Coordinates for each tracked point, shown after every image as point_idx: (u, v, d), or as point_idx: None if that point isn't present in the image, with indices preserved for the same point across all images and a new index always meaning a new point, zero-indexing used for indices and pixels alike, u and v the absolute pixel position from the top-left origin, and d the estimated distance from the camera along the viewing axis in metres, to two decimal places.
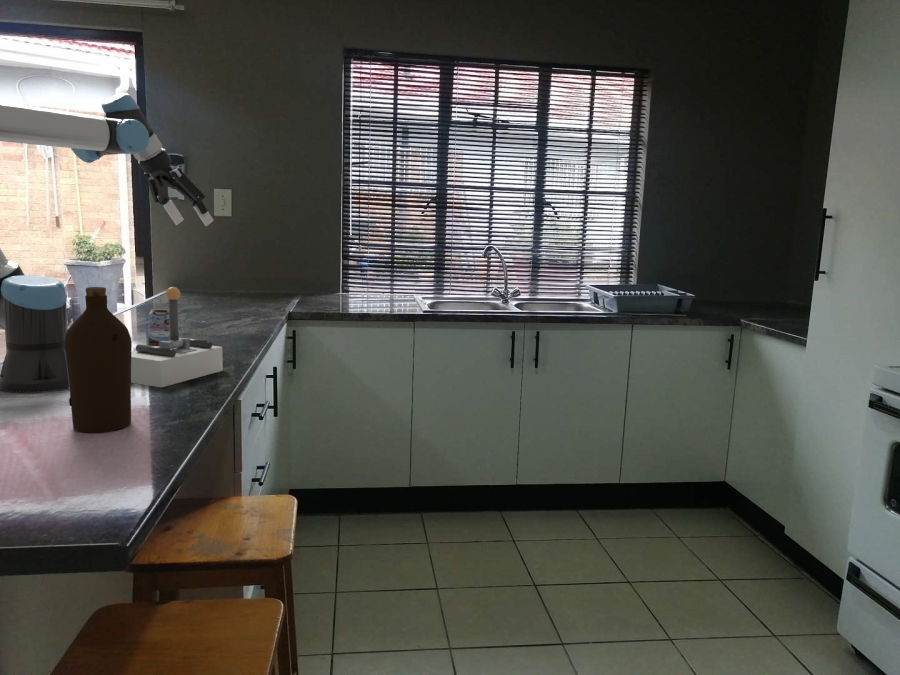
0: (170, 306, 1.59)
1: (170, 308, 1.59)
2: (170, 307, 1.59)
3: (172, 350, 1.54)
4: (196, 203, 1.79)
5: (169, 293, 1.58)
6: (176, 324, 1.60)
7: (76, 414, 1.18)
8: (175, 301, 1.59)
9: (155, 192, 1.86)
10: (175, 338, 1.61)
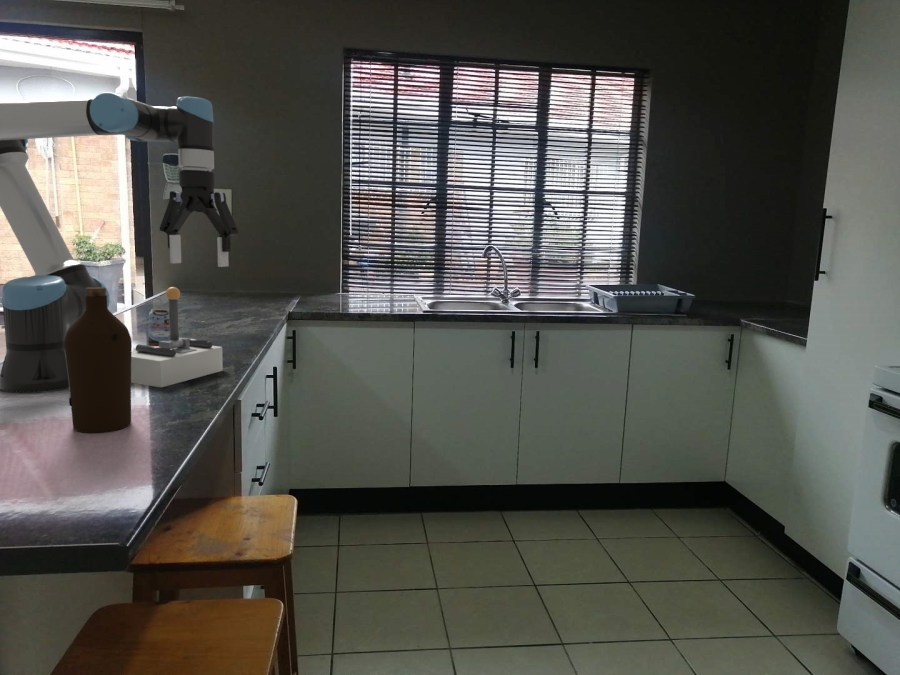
0: (170, 306, 1.59)
1: (170, 308, 1.59)
2: (170, 307, 1.59)
3: (172, 350, 1.54)
4: (224, 235, 1.51)
5: (169, 293, 1.58)
6: (176, 324, 1.60)
7: (76, 414, 1.18)
8: (175, 301, 1.59)
9: (169, 218, 1.56)
10: (175, 338, 1.61)
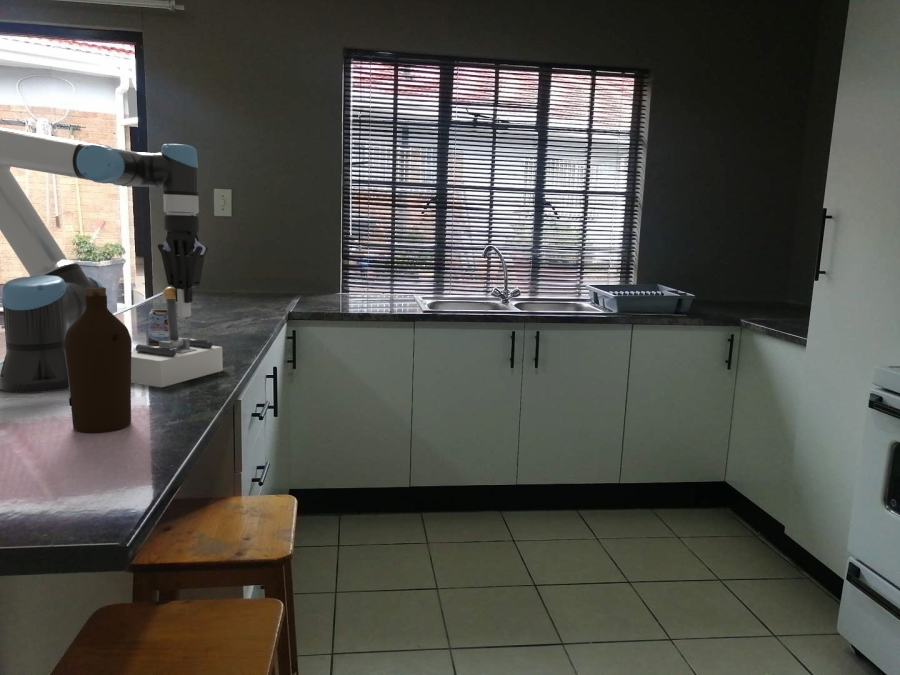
0: (168, 306, 1.59)
1: (168, 308, 1.59)
2: (168, 307, 1.59)
3: (172, 350, 1.54)
4: (185, 288, 1.56)
5: (166, 293, 1.58)
6: (175, 324, 1.60)
7: (76, 414, 1.18)
8: (173, 301, 1.59)
9: (169, 269, 1.58)
10: (175, 338, 1.61)
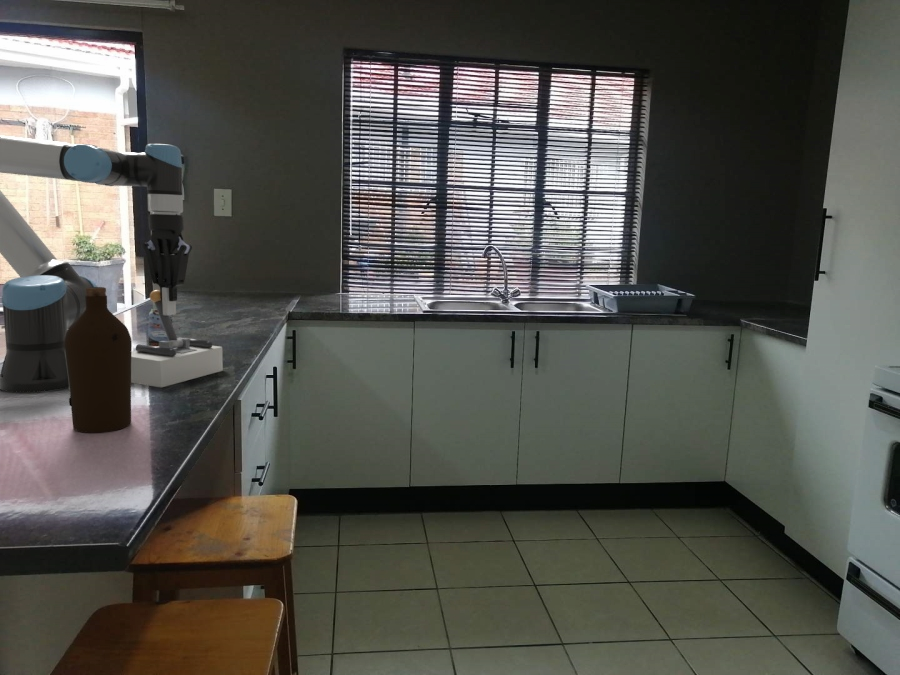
0: (158, 308, 1.61)
1: (159, 310, 1.61)
2: (158, 309, 1.61)
3: (172, 350, 1.54)
4: (170, 287, 1.58)
5: (153, 295, 1.60)
6: (169, 323, 1.61)
7: (76, 414, 1.18)
8: (161, 302, 1.61)
9: (154, 267, 1.59)
10: (173, 337, 1.61)
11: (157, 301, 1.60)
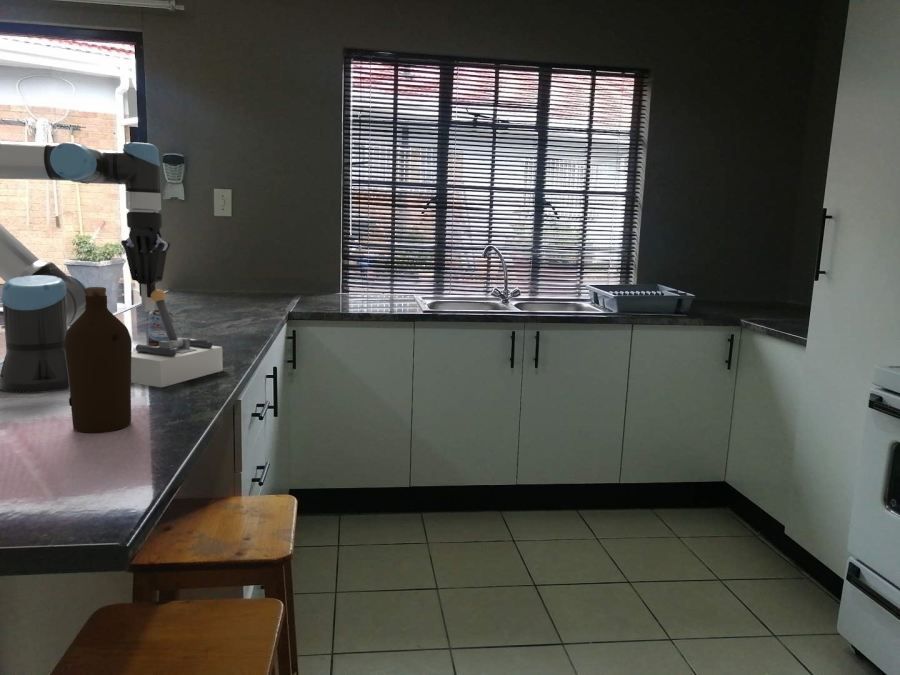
0: (159, 308, 1.60)
1: (159, 309, 1.61)
2: (159, 308, 1.60)
3: (172, 350, 1.54)
4: (148, 283, 1.61)
5: (154, 295, 1.60)
6: (170, 323, 1.61)
7: (76, 414, 1.18)
8: (162, 301, 1.61)
9: (133, 264, 1.62)
10: (173, 337, 1.61)
11: (158, 301, 1.60)
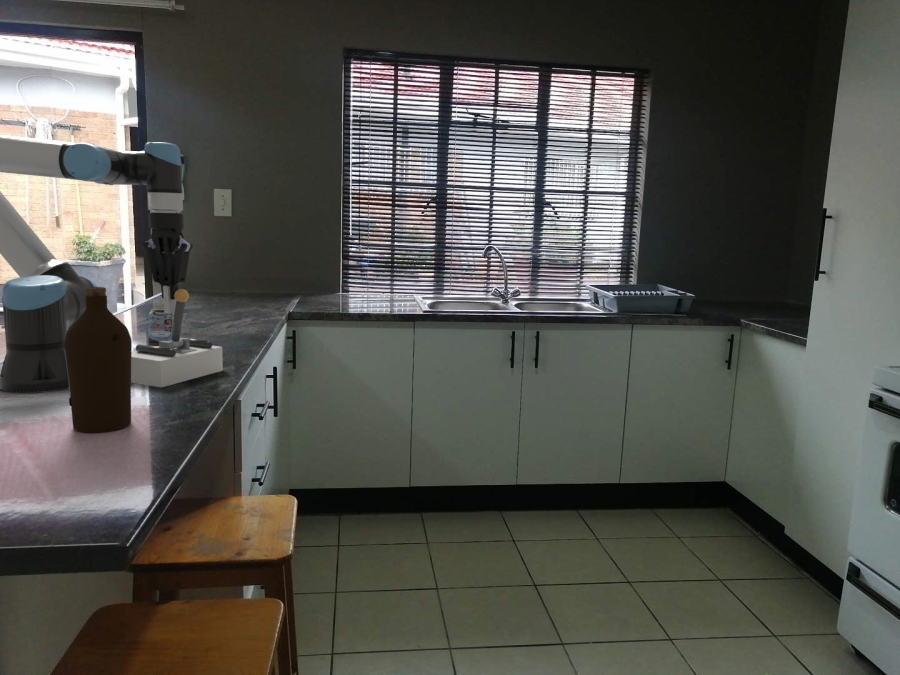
0: (177, 308, 1.58)
1: (176, 310, 1.59)
2: (176, 308, 1.58)
3: (172, 350, 1.54)
4: (171, 285, 1.58)
5: (178, 296, 1.57)
6: (179, 326, 1.60)
7: (76, 414, 1.18)
8: (182, 304, 1.59)
9: (155, 266, 1.60)
10: (176, 339, 1.60)
11: (179, 302, 1.58)
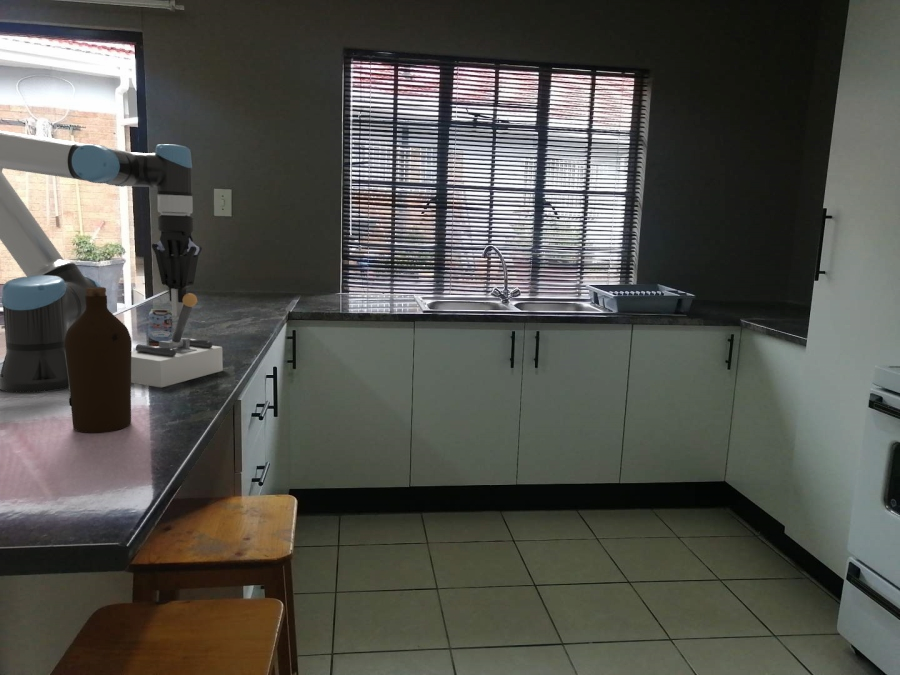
0: (183, 311, 1.58)
1: (182, 313, 1.58)
2: (182, 312, 1.58)
3: (172, 350, 1.54)
4: (179, 288, 1.57)
5: (186, 301, 1.56)
6: (182, 328, 1.60)
7: (76, 414, 1.18)
8: (189, 308, 1.58)
9: (164, 268, 1.59)
10: (177, 340, 1.60)
11: (186, 306, 1.57)
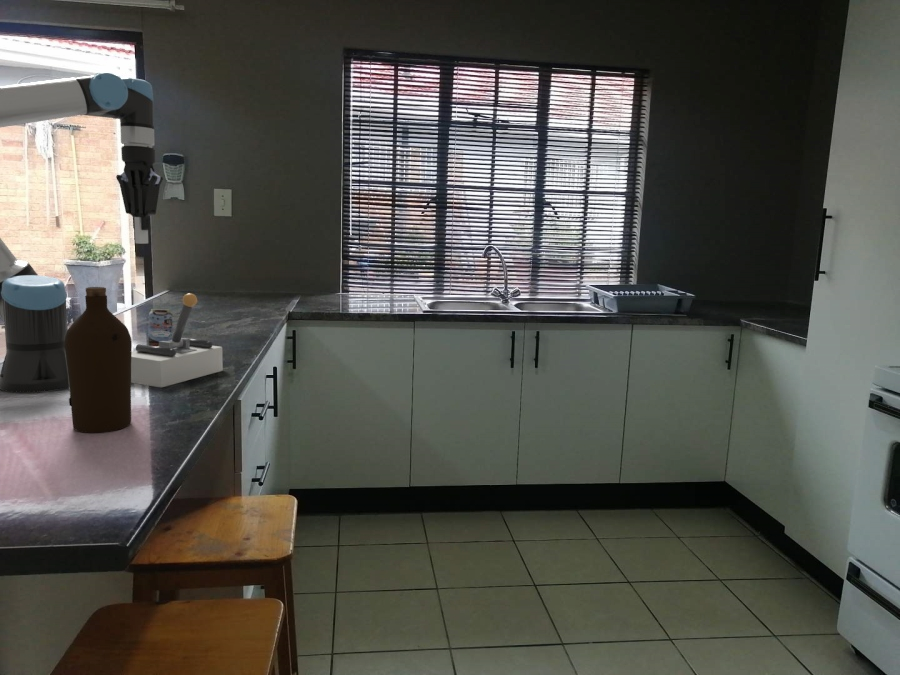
0: (183, 311, 1.58)
1: (182, 313, 1.58)
2: (182, 312, 1.58)
3: (172, 350, 1.54)
4: (142, 216, 1.67)
5: (186, 301, 1.56)
6: (182, 328, 1.60)
7: (76, 414, 1.18)
8: (189, 308, 1.58)
9: (127, 198, 1.69)
10: (177, 340, 1.60)
11: (186, 306, 1.57)
